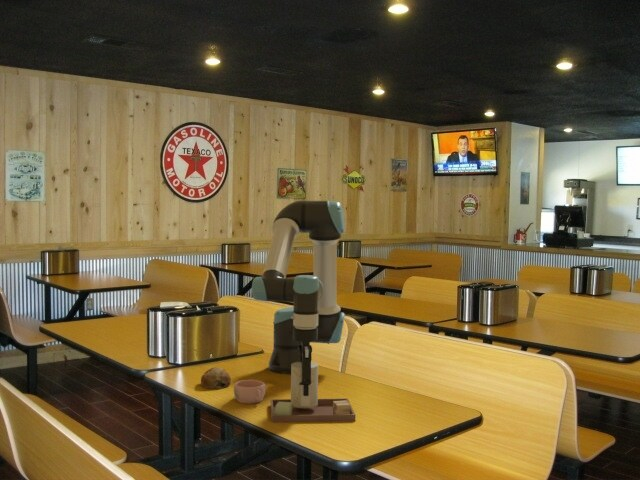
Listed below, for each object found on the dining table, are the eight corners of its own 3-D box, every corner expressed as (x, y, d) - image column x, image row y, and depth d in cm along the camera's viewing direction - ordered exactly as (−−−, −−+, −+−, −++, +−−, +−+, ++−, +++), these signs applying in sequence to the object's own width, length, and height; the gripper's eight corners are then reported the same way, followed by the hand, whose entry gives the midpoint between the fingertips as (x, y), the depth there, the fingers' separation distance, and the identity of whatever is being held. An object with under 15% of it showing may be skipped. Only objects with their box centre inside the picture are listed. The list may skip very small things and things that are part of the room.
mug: (228, 400, 212) (228, 381, 212) (255, 395, 218) (255, 377, 218) (246, 410, 202) (246, 391, 202) (274, 405, 208) (274, 386, 208)
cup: (287, 406, 199) (288, 367, 198) (294, 399, 207) (294, 360, 206) (314, 409, 197) (315, 369, 196) (320, 401, 205) (320, 362, 204)
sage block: (278, 414, 197) (278, 401, 196) (291, 415, 196) (292, 402, 196) (275, 419, 193) (275, 405, 192) (288, 420, 192) (289, 406, 192)
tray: (270, 407, 206) (270, 399, 206) (347, 406, 208) (347, 398, 208) (272, 424, 190) (272, 416, 190) (355, 423, 192) (355, 414, 192)
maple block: (332, 414, 198) (333, 401, 198) (345, 413, 199) (345, 400, 199) (336, 418, 194) (337, 405, 194) (349, 417, 195) (350, 404, 195)
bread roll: (207, 400, 224) (213, 381, 221) (193, 381, 231) (198, 363, 228) (232, 395, 230) (238, 376, 227) (217, 377, 237) (223, 358, 234)
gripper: (291, 320, 210) (290, 391, 212) (295, 333, 190) (293, 412, 191) (314, 320, 211) (313, 391, 213) (321, 333, 190) (320, 412, 192)
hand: (304, 401), depth 202 cm, fingers closed on cup, 8 cm apart
